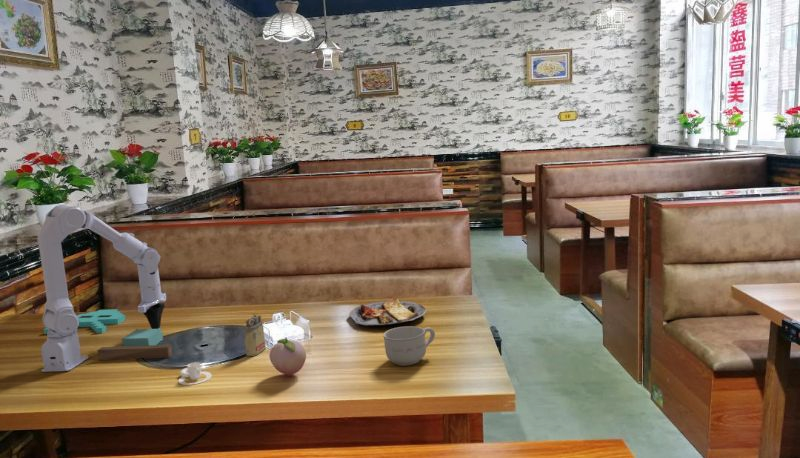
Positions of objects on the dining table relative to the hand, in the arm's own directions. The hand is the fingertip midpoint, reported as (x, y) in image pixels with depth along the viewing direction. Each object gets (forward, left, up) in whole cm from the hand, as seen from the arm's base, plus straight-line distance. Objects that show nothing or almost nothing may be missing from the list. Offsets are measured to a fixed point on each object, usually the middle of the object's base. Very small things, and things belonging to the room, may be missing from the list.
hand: (155, 328), depth 183 cm
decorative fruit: (-33, -50, -3) cm, 60 cm away
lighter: (-16, -36, -3) cm, 40 cm away
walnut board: (-17, -2, -3) cm, 18 cm away
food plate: (+10, -71, -3) cm, 72 cm away
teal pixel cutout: (+16, +30, -3) cm, 34 cm away
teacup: (-26, -80, -3) cm, 84 cm away
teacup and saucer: (-30, -26, -3) cm, 40 cm away
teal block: (-8, 0, -3) cm, 8 cm away
